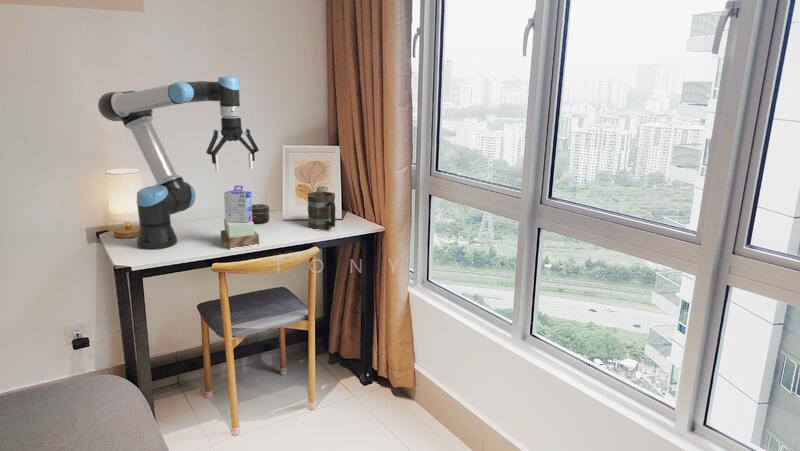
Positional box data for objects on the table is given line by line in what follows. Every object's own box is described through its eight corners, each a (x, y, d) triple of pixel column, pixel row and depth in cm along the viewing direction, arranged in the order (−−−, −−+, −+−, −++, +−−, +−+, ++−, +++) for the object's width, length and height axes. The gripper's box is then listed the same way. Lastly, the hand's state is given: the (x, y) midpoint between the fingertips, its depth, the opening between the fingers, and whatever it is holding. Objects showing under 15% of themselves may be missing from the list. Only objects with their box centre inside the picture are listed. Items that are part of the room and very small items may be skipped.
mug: (302, 224, 264) (301, 193, 260) (328, 220, 271) (327, 190, 267) (320, 234, 248) (319, 201, 244) (347, 230, 255) (347, 198, 251)
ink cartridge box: (253, 219, 234) (251, 185, 230) (247, 223, 229) (245, 188, 225) (231, 218, 235) (229, 184, 231) (225, 221, 230) (222, 187, 226)
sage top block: (229, 237, 226) (228, 225, 224) (224, 230, 236) (223, 218, 235) (254, 234, 230) (253, 223, 229) (248, 227, 240) (248, 216, 239)
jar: (245, 224, 262) (244, 208, 260) (251, 218, 272) (250, 203, 270) (266, 225, 262) (265, 209, 260) (272, 219, 271) (271, 204, 269)
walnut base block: (230, 250, 226) (229, 238, 225) (221, 241, 237) (220, 230, 235) (259, 245, 232) (258, 234, 231) (249, 237, 243) (248, 226, 242)
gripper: (200, 118, 211) (204, 174, 217) (264, 117, 224) (267, 169, 229) (196, 117, 218) (200, 171, 223) (259, 115, 230) (261, 166, 236)
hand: (234, 170), depth 226 cm, fingers open, 13 cm apart
